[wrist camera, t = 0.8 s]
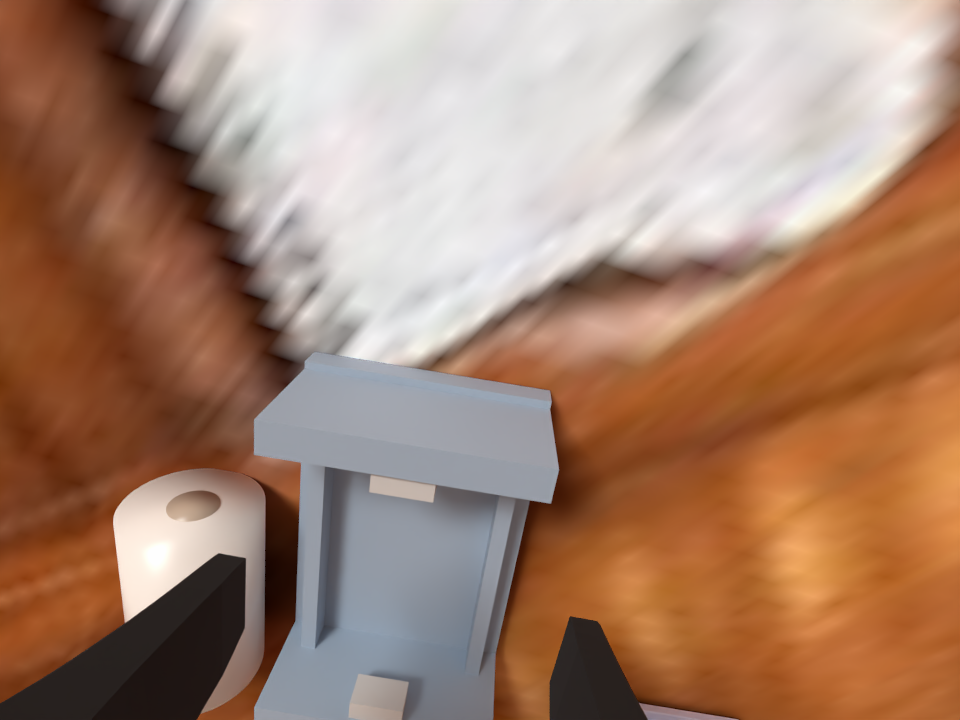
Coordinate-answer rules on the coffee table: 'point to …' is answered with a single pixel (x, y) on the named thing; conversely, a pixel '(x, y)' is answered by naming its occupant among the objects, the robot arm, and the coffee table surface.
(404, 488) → the holder
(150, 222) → the coffee table surface
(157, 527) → the roll
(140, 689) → the robot arm
